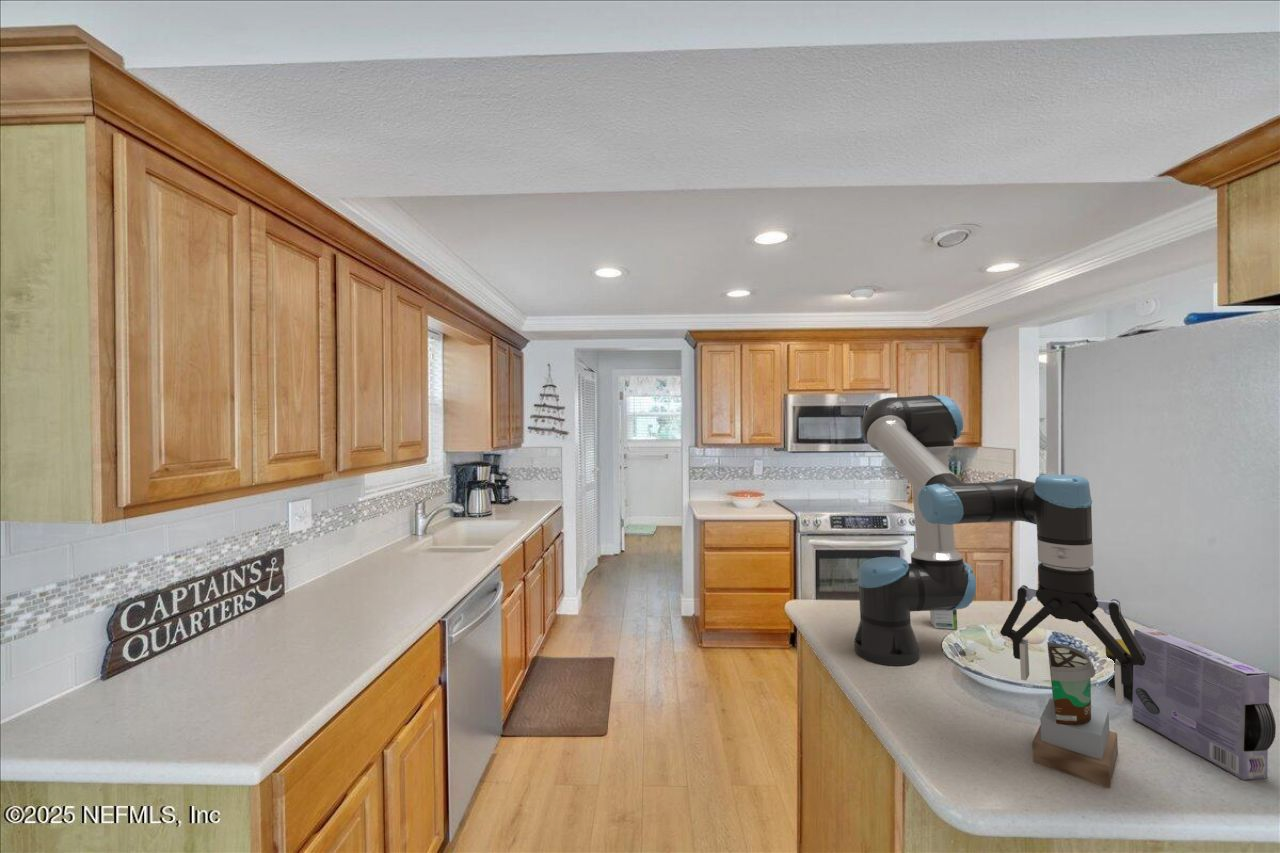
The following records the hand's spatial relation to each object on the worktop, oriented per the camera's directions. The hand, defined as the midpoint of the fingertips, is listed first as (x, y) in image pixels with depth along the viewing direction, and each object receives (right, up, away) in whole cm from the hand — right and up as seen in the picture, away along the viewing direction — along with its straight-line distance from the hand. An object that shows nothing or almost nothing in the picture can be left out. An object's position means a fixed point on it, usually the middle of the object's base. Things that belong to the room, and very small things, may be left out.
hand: (1070, 689), depth 93 cm
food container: (+1, -4, 0) cm, 5 cm away
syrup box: (+11, -11, +59) cm, 61 cm away
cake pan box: (+23, -11, +1) cm, 26 cm away
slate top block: (+1, -8, 0) cm, 8 cm away
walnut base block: (+1, -12, 0) cm, 12 cm away
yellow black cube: (+31, -10, +18) cm, 37 cm away
